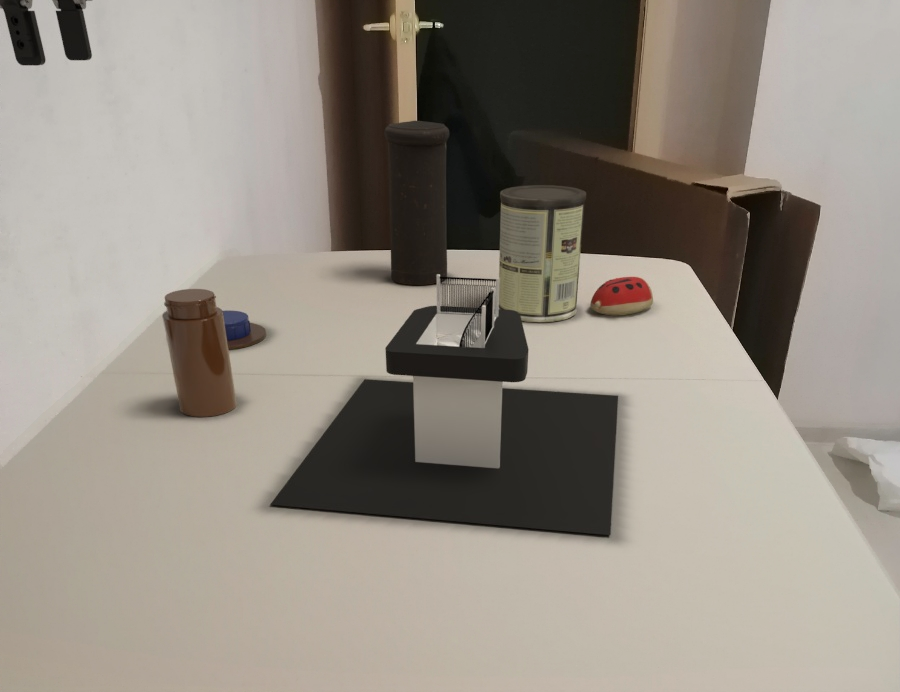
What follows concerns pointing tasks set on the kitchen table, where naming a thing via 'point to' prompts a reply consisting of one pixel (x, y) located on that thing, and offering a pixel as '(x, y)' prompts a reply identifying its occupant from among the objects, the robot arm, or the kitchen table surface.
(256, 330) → the coaster
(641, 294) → the ladybug figurine
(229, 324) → the lid
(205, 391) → the jar
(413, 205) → the container
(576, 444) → the black-topped pedestal
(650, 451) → the kitchen table surface
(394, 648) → the kitchen table surface
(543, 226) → the coffee can
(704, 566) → the kitchen table surface
